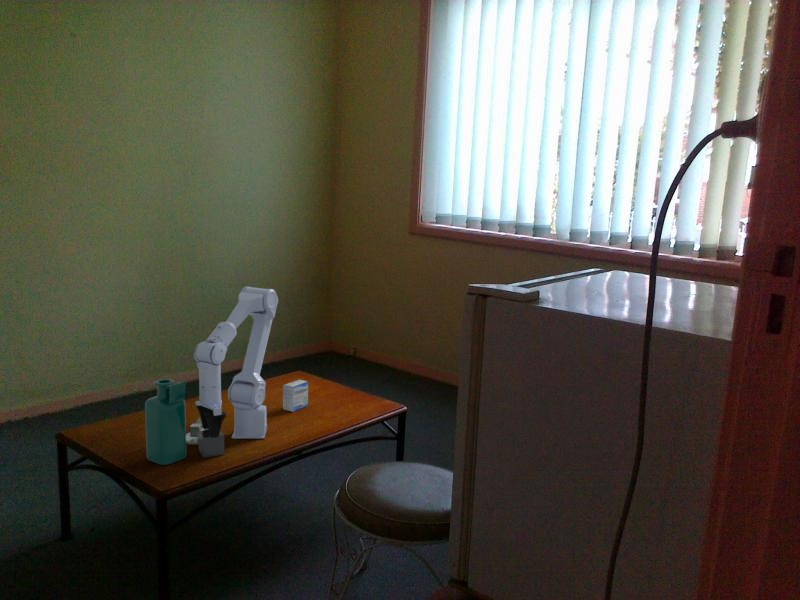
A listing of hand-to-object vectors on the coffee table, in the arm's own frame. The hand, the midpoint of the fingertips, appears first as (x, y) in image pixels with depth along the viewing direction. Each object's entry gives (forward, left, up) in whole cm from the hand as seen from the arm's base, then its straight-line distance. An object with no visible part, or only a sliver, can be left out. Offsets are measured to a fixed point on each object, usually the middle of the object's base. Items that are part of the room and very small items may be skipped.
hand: (210, 432), depth 196 cm
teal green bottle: (+11, +4, -6) cm, 13 cm away
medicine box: (-21, -38, -6) cm, 44 cm away
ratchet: (+6, -15, -6) cm, 17 cm away
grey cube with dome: (0, 0, -6) cm, 6 cm away
